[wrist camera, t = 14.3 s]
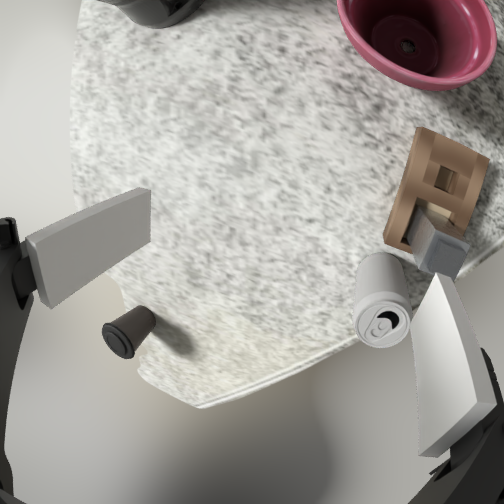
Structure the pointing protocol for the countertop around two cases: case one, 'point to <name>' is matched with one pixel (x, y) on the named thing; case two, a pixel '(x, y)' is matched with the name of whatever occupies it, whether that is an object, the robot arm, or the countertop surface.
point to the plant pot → (422, 39)
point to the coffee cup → (128, 331)
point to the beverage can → (381, 301)
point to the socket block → (436, 184)
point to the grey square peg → (436, 243)
